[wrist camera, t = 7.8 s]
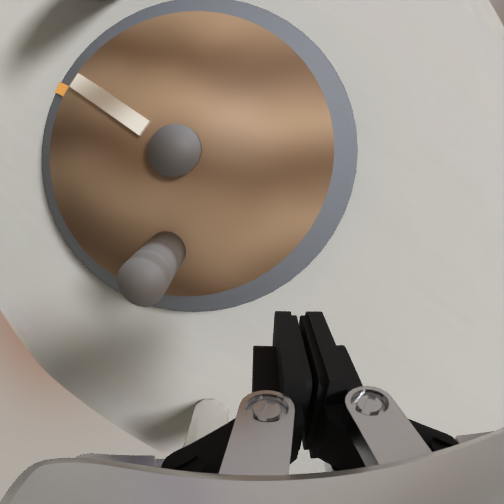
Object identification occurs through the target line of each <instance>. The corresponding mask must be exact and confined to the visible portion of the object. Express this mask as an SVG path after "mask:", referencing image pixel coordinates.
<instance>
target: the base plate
mask: <svg viewBox="0 0 504 504" xmlns="http://www.w3.org/2000/svg"><path fill="white" fill-rule="evenodd" d="M185 11H208V12H218V13H223V14H228V15H232V16H236V17H240V18H242V19H245V20H247V21H250V22H252V23H255V24H257V25H259V26H261V27H263V28H264V29H266V30H268V31H270V32H271V33H273V34H275V35H276V36H277V37H279V38H280V39H281V40H282V41H284V42H285V43H286V44H288V45H289V46H290V47H291V48H292V49H293V50H294V51H295V52H296V53H297V54H298V55H299V56H300V58H301V59H302V60H303V61H304V62H305V64H306V65H307V66H308V68H309V69H310V71H311V72H312V73H313V75H314V76H315V78H316V80H317V82H318V84H319V86H320V88H321V90H322V92H323V94H324V97H325V100H326V103H327V106H328V109H329V112H330V116H331V121H332V127H333V132H334V161H333V171H332V176H331V180H330V184H329V189H328V192H327V195H326V198H325V200H324V203H323V205H322V208H321V210H320V212H319V214H318V216H317V218H316V219H315V221H314V223H313V225H312V227H311V228H310V230H309V231H308V232H307V234H306V235H305V236H304V238H303V239H302V240H301V242H300V243H299V244H298V245H297V246H296V248H295V249H294V250H293V251H292V252H291V253H290V254H289V255H288V256H287V257H286V258H285V259H283V260H282V261H281V262H280V263H278V264H277V265H276V266H275V267H273V268H272V269H271V270H269V271H268V272H266V273H265V274H263V275H261V276H260V277H258V278H256V279H255V280H253V281H250V282H248V283H246V284H244V285H241V286H239V287H237V288H233V289H230V290H227V291H223V292H220V293H215V294H209V295H202V296H173V295H163V297H162V299H161V300H160V301H159V302H158V303H156V304H154V305H152V306H154V307H159V308H164V309H169V310H174V311H189V312H200V311H215V310H220V309H226V308H231V307H235V306H238V305H242V304H245V303H248V302H251V301H254V300H256V299H258V298H260V297H262V296H265V295H267V294H269V293H271V292H273V291H274V290H276V289H278V288H279V287H281V286H282V285H284V284H286V283H287V282H289V281H290V280H291V279H293V278H294V277H295V276H296V275H297V274H299V273H300V272H301V271H302V270H303V269H305V268H306V267H307V266H308V265H309V264H310V263H311V262H312V260H313V259H314V258H315V257H316V256H317V255H318V254H319V253H320V252H321V251H322V249H323V248H324V246H325V245H326V244H327V242H328V241H329V239H330V238H331V237H332V235H333V234H334V232H335V230H336V228H337V226H338V224H339V222H340V220H341V219H342V217H343V215H344V212H345V210H346V207H347V204H348V201H349V199H350V196H351V193H352V188H353V184H354V179H355V174H356V165H357V151H358V149H357V134H356V125H355V120H354V116H353V111H352V107H351V104H350V101H349V98H348V96H347V93H346V90H345V88H344V85H343V83H342V81H341V80H340V78H339V76H338V74H337V72H336V71H335V69H334V67H333V65H332V64H331V63H330V61H329V60H328V59H327V57H326V56H325V55H324V54H323V52H322V51H321V50H320V48H319V47H318V46H317V45H316V44H315V43H314V42H313V41H311V40H310V39H309V38H308V37H307V36H306V35H305V34H304V33H303V32H302V31H300V30H299V29H298V28H296V27H295V26H293V25H292V24H291V23H289V22H288V21H286V20H284V19H283V18H281V17H279V16H277V15H275V14H273V13H271V12H269V11H267V10H265V9H262V8H259V7H257V6H254V5H251V4H248V3H244V2H240V1H235V0H174V1H169V2H164V3H160V4H157V5H154V6H151V7H149V8H146V9H143V10H141V11H139V12H136V13H134V14H132V15H130V16H128V17H126V18H124V19H123V20H121V21H120V22H118V23H117V24H115V25H114V26H112V27H111V28H109V29H108V30H106V31H105V32H104V33H103V34H101V35H100V36H99V37H98V38H97V39H96V40H94V41H93V42H92V43H91V44H90V45H89V46H88V47H87V48H86V49H85V50H84V52H83V53H82V54H81V55H80V56H79V57H78V58H77V60H76V61H75V62H74V64H73V65H72V67H71V68H70V69H69V71H68V72H67V74H66V75H65V77H64V79H63V81H62V83H61V82H60V83H59V85H58V87H57V89H56V91H55V93H56V94H55V97H54V99H53V102H52V105H51V107H50V110H49V113H48V117H47V121H46V125H45V129H44V136H43V144H42V174H43V182H44V189H45V193H46V197H47V201H48V204H49V208H50V210H51V213H52V215H53V218H54V220H55V223H56V225H57V227H58V229H59V231H60V233H61V234H62V236H63V238H64V240H65V241H66V243H67V244H68V246H69V247H70V248H71V250H72V251H73V253H74V254H75V255H76V257H77V258H78V259H79V260H80V261H81V262H82V263H83V264H84V265H85V266H86V267H87V268H88V270H90V271H91V272H92V273H93V274H94V275H95V276H97V277H98V278H99V279H100V280H101V281H103V282H104V283H106V284H107V285H109V286H110V287H112V288H113V289H115V290H116V291H118V292H120V293H121V291H120V289H119V286H118V282H117V277H115V276H114V275H112V274H111V273H109V272H108V271H107V270H105V269H104V268H102V267H101V266H100V265H99V264H98V263H96V262H95V261H94V260H93V259H92V258H91V257H90V256H89V255H88V254H87V253H86V252H85V251H84V249H83V248H82V247H81V246H80V245H79V244H78V242H77V241H76V240H75V238H74V237H73V235H72V234H71V232H70V231H69V229H68V227H67V225H66V223H65V221H64V219H63V217H62V215H61V213H60V210H59V208H58V205H57V202H56V199H55V196H54V191H53V187H52V182H51V174H50V164H49V162H50V142H51V135H52V129H53V125H54V121H55V117H56V114H57V111H58V108H59V106H60V103H61V101H62V98H63V96H64V94H65V92H66V90H67V89H68V87H69V85H70V83H71V82H72V80H73V78H74V77H75V75H76V74H77V73H78V71H79V70H80V69H81V67H82V66H83V65H84V63H85V62H86V61H87V60H88V59H89V58H90V57H91V56H92V55H93V54H94V53H95V52H96V51H97V50H98V49H99V48H100V47H102V46H103V45H104V44H105V43H107V42H108V41H109V40H110V39H112V38H113V37H115V36H116V35H118V34H119V33H121V32H123V31H124V30H126V29H128V28H130V27H132V26H134V25H136V24H138V23H140V22H143V21H145V20H148V19H151V18H154V17H158V16H161V15H165V14H171V13H177V12H185Z"/></svg>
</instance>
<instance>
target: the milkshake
mask: <svg viewBox="0 0 504 504" xmlns="http://www.w3.org/2000/svg"><path fill="white" fill-rule="evenodd" d="M228 422H229V410H228V408H227V407H226V406H225V404H224V403H222V402H220V401H217V400H215V399H203V400H202V401H200V402H198V403H196V405H195V409H194V412H193V416H192V419H191V422H190V426H189V429H188V433H187V436H186V439H185V442H184V445H183V447H185V446H187V445H189V444H191V443H193V442H195V441H196V440H198V439H200V438H202V437H204V436H206V435H207V434H209V433H211V432H213V431H214V430H216V429H218V428H220V427H221V426H223V425H225V424H227V423H228Z"/></svg>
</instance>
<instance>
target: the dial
mask: <svg viewBox="0 0 504 504" xmlns="http://www.w3.org/2000/svg"><path fill="white" fill-rule="evenodd" d="M333 161H334V132H333V127H332V121H331V116H330V112H329V109H328V106H327V103H326V100H325V97H324V94H323V92H322V90H321V88H320V86H319V84H318V82H317V80H316V78H315V76H314V75H313V73H312V72H311V71H310V69H309V68H308V66H307V65H306V64H305V62H304V61H303V60H302V59H301V58H300V56H299V55H298V54H297V53H296V52H295V51H294V50H293V49H292V48H291V47H290V46H289V45H288V44H286V43H285V42H284V41H282V40H281V39H280V38H279V37H277V36H276V35H275V34H273V33H271V32H270V31H268V30H266V29H264V28H263V27H261V26H259V25H257V24H255V23H252V22H250V21H247V20H245V19H242V18H240V17H236V16H232V15H228V14H223V13H218V12H208V11H185V12H177V13H171V14H165V15H161V16H158V17H154V18H151V19H148V20H145V21H143V22H140V23H138V24H136V25H134V26H132V27H130V28H128V29H126V30H124V31H123V32H121V33H119V34H118V35H116V36H115V37H113V38H112V39H110V40H109V41H108V42H107V43H105V44H104V45H103V46H102V47H100V48H99V49H98V50H97V51H96V52H95V53H94V54H93V55H92V56H91V57H90V58H89V59H88V60H87V61H86V62H85V63H84V65H83V66H82V67H81V69H80V70H79V71H78V73H77V74H76V75H75V77H74V78H73V80H72V82H71V83H70V85H69V87H68V89H67V90H66V92H65V94H64V96H63V98H62V101H61V103H60V106H59V108H58V111H57V114H56V117H55V121H54V125H53V129H52V135H51V142H50V162H49V164H50V174H51V182H52V187H53V191H54V196H55V199H56V202H57V205H58V208H59V210H60V213H61V215H62V217H63V219H64V221H65V223H66V225H67V227H68V229H69V231H70V232H71V234H72V235H73V237H74V238H75V240H76V241H77V242H78V244H79V245H80V246H81V247H82V248H83V249H84V251H85V252H86V253H87V254H88V255H89V256H90V257H91V258H92V259H93V260H94V261H95V262H96V263H98V264H99V265H100V266H101V267H102V268H104V269H105V270H107V271H108V272H109V273H111V274H112V275H114V276H115V277H117V282H118V286H119V289H120V291H121V293H122V294H123V296H124V297H125V298H126V299H127V300H128V301H130V302H131V303H133V304H135V305H138V306H143V307H147V306H152V305H154V304H156V303H158V302H159V301H160V300H161V299H162V297H163V295H173V296H202V295H209V294H215V293H220V292H223V291H227V290H230V289H233V288H237V287H239V286H241V285H244V284H246V283H248V282H250V281H253V280H255V279H256V278H258V277H260V276H261V275H263V274H265V273H266V272H268V271H269V270H271V269H272V268H273V267H275V266H276V265H277V264H278V263H280V262H281V261H282V260H283V259H285V258H286V257H287V256H288V255H289V254H290V253H291V252H292V251H293V250H294V249H295V248H296V246H297V245H298V244H299V243H300V242H301V240H302V239H303V238H304V236H305V235H306V234H307V232H308V231H309V230H310V228H311V227H312V225H313V223H314V221H315V219H316V218H317V216H318V214H319V212H320V210H321V208H322V205H323V203H324V200H325V198H326V195H327V192H328V189H329V184H330V180H331V176H332V171H333Z"/></svg>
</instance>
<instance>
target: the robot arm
mask: <svg viewBox="0 0 504 504" xmlns="http://www.w3.org/2000/svg"><path fill="white" fill-rule="evenodd" d="M301 441H302V442H303V448H304V450H309V451H310V457H311V458H319V459H321V460H323V461H325V470H326V472H322V473H310V474H294V475H289V466H290V464H291V463H292V462H293V461H295V460H296V459H297V455H298V451H299V449H300V446H301ZM0 504H504V428H501V429H499V430H496V431H492V432H485V433H477V434H469V435H459V436H456V438H455V439H454V438H453V437H452V436H450V435H448V434H446V433H443V432H440V431H438V430H435V429H432V428H430V427H427V426H425V425H422V424H420V423H417V422H415V421H412V420H410V419H408V418H407V417H406V416H405V414H404V413H403V412H402V410H401V409H400V408H399V406H398V405H397V404H396V402H395V401H394V400H393V398H392V397H391V396H390V395H389V394H388V393H387V392H385V391H384V390H382V389H379V388H376V387H371V386H362V383H361V381H360V379H359V376H358V374H357V372H356V370H355V367H354V365H353V363H352V361H351V358H350V356H349V354H348V352H347V350H346V348H345V346H343V345H338V346H336V344H335V342H334V339H333V337H332V335H331V332H330V330H329V327H328V325H327V323H326V320H325V318H324V316H323V313H322V312H306V314H305V316H300V321H299V324H298V320H297V316H295V315H291V312H286V311H275V317H274V333H273V346H254V347H253V377H252V393H251V394H248V395H247V396H246V397H245V398H243V399H242V401H241V403H240V405H239V409H238V412H237V416H236V418H235V419H233V420H232V421H230V422H228V423H227V424H225V425H223V426H221V427H220V428H218V429H216V430H214V431H213V432H211V433H209V434H207V435H206V436H204V437H202V438H200V439H198V440H196V441H195V442H193V443H191V444H189V445H187V446H185V447H183V448H181V449H179V450H177V451H175V452H173V453H172V454H170V455H169V456H168V457H166V459H155V456H130V455H107V454H93V453H90V454H82V455H80V456H77V457H76V458H58V459H50V460H44V461H41V462H38V463H35V464H33V465H32V466H30V467H28V468H27V469H26V470H25V471H24V472H23V473H22V474H21V475H20V476H19V477H18V478H17V479H16V481H15V482H14V483H13V484H12V486H11V487H10V488H9V489H8V491H7V492H6V494H5V495H4V497H3V498H2V500H1V501H0Z"/></svg>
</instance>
